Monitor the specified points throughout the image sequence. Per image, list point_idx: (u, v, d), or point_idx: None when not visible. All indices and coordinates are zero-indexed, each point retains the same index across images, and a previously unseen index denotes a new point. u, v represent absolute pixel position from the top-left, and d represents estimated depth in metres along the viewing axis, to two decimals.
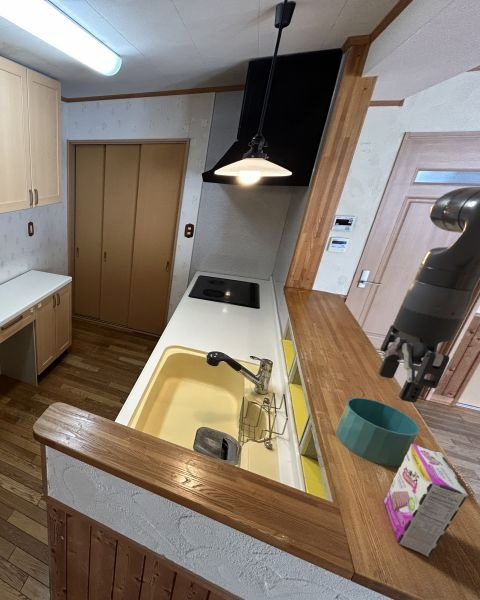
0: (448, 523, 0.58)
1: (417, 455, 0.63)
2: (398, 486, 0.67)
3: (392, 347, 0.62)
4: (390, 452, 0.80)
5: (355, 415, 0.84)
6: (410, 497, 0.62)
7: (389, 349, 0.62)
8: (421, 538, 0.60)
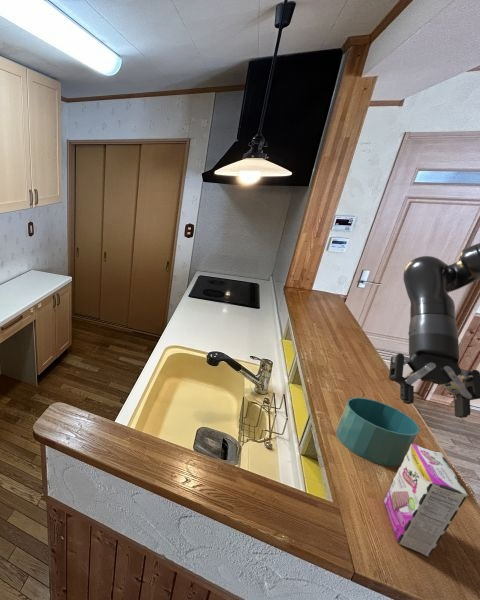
0: (448, 523, 0.58)
1: (417, 455, 0.63)
2: (398, 486, 0.67)
3: None
4: (390, 452, 0.80)
5: (355, 415, 0.84)
6: (410, 497, 0.62)
7: None
8: (421, 538, 0.60)
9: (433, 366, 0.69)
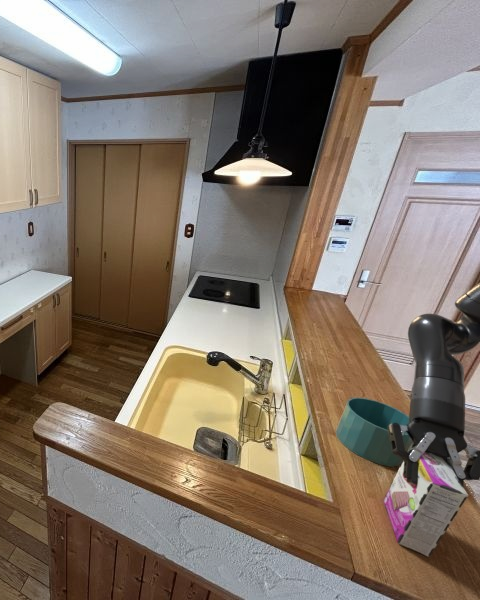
0: (448, 523, 0.58)
1: None
2: (398, 486, 0.67)
3: None
4: (390, 452, 0.80)
5: (355, 415, 0.84)
6: (411, 497, 0.62)
7: None
8: (421, 538, 0.60)
9: (432, 436, 0.63)
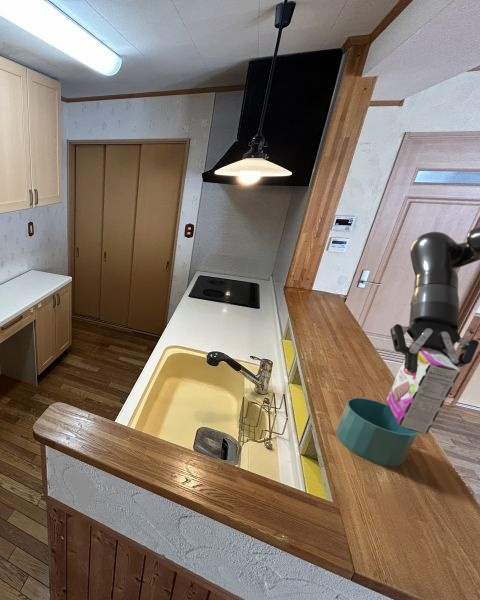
0: (443, 399, 0.66)
1: None
2: (399, 381, 0.75)
3: None
4: (390, 452, 0.80)
5: (355, 415, 0.84)
6: (411, 384, 0.70)
7: None
8: (420, 417, 0.69)
9: (430, 331, 0.71)
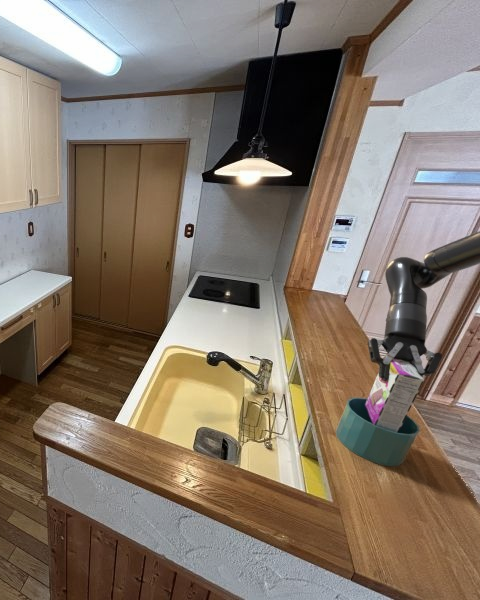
0: (410, 404, 0.77)
1: None
2: (375, 388, 0.86)
3: None
4: (390, 452, 0.80)
5: (355, 415, 0.84)
6: (384, 391, 0.81)
7: None
8: (391, 420, 0.79)
9: (401, 345, 0.82)
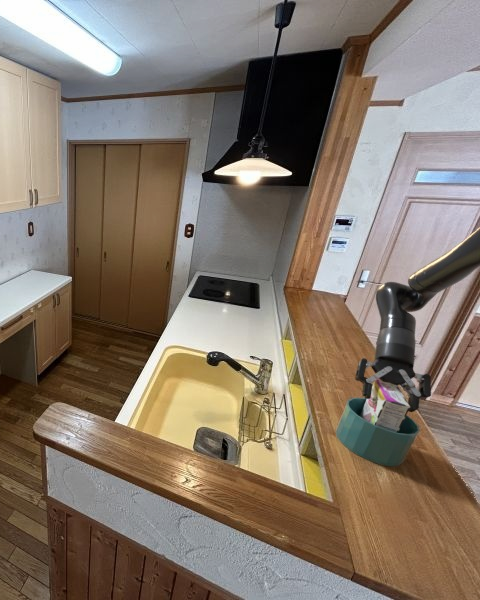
0: (397, 430, 0.79)
1: (378, 385, 0.85)
2: (365, 411, 0.88)
3: None
4: (390, 452, 0.80)
5: (355, 415, 0.84)
6: (372, 415, 0.84)
7: None
8: None
9: (390, 369, 0.84)
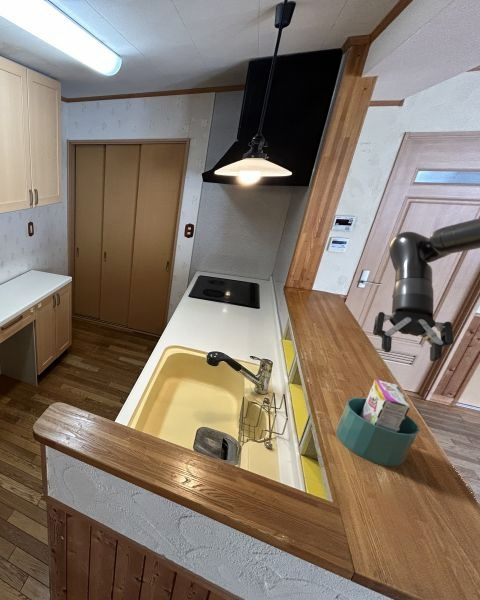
0: (397, 430, 0.79)
1: (378, 385, 0.85)
2: (365, 411, 0.88)
3: None
4: (390, 452, 0.80)
5: (355, 415, 0.84)
6: (372, 415, 0.84)
7: None
8: None
9: (409, 320, 0.82)
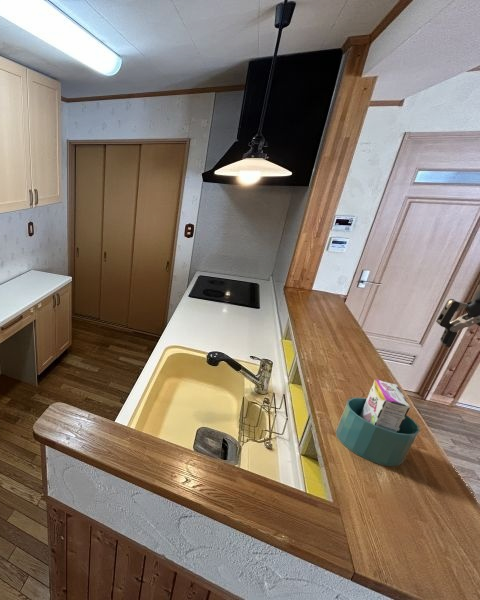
0: (397, 430, 0.79)
1: (378, 385, 0.85)
2: (365, 411, 0.88)
3: None
4: (390, 452, 0.80)
5: (355, 415, 0.84)
6: (372, 415, 0.84)
7: None
8: None
9: None
